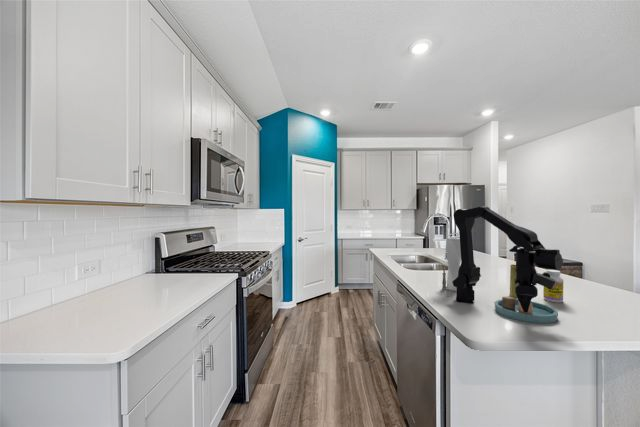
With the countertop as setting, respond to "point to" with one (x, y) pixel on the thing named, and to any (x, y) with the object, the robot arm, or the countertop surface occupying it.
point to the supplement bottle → (554, 288)
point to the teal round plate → (539, 314)
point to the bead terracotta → (530, 310)
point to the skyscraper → (452, 262)
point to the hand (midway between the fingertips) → (525, 308)
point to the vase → (512, 281)
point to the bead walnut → (508, 303)
